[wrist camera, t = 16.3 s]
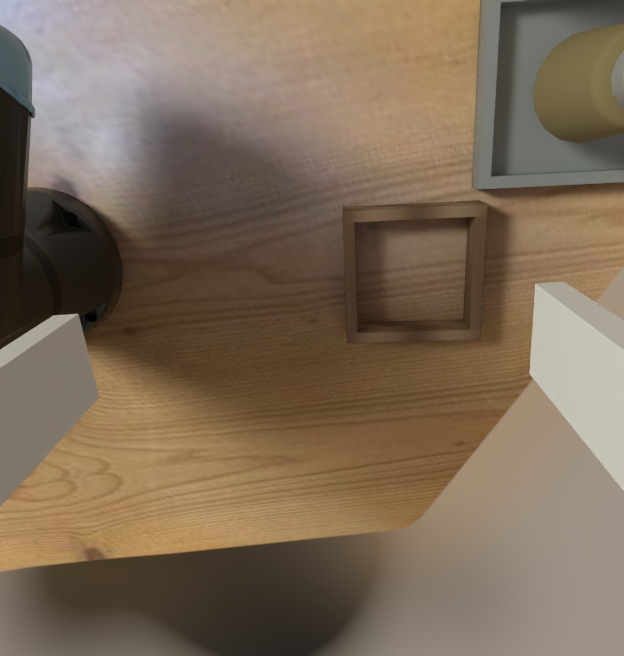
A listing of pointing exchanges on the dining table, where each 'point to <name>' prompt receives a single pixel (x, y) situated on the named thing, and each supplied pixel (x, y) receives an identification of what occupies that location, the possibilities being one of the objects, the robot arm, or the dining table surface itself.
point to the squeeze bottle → (583, 86)
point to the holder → (473, 275)
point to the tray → (517, 97)
